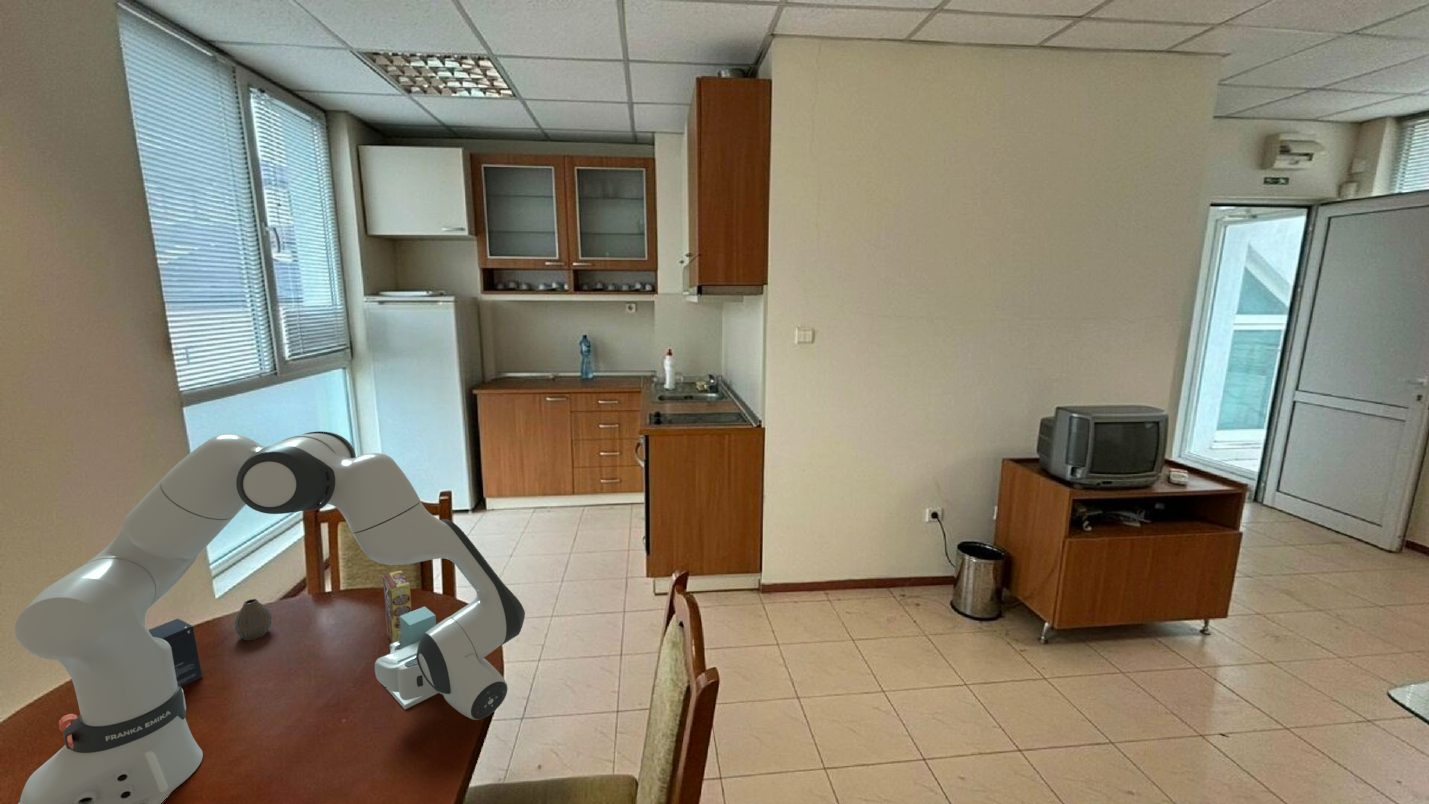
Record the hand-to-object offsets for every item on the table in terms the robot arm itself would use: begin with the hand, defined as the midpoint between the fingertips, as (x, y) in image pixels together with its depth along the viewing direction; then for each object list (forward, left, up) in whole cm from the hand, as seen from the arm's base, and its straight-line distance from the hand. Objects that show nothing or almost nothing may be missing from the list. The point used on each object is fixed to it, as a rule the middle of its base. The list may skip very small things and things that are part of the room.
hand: (417, 636), depth 120 cm
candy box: (+3, +18, -10) cm, 21 cm away
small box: (-37, +36, -10) cm, 53 cm away
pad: (0, -1, -10) cm, 10 cm away
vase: (-19, +45, -10) cm, 50 cm away
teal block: (0, -1, -9) cm, 9 cm away
